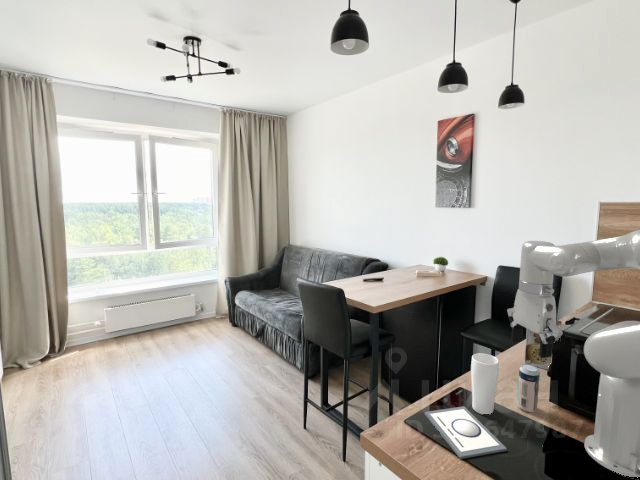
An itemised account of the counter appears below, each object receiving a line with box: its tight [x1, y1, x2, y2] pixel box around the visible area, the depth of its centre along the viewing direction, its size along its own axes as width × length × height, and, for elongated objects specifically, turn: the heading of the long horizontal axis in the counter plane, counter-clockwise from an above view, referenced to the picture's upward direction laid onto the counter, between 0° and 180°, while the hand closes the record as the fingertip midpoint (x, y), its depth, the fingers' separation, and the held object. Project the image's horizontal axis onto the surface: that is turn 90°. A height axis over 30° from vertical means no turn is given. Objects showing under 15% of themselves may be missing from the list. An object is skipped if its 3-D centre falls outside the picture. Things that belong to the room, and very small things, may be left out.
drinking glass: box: [470, 352, 500, 415], centre depth 94 cm, size 7×7×15 cm
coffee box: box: [524, 319, 562, 371], centre depth 119 cm, size 9×6×16 cm
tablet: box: [423, 405, 508, 460], centre depth 87 cm, size 16×12×1 cm
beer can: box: [516, 363, 541, 413], centre depth 95 cm, size 5×5×12 cm
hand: (530, 348), depth 94 cm, fingers open, 9 cm apart
